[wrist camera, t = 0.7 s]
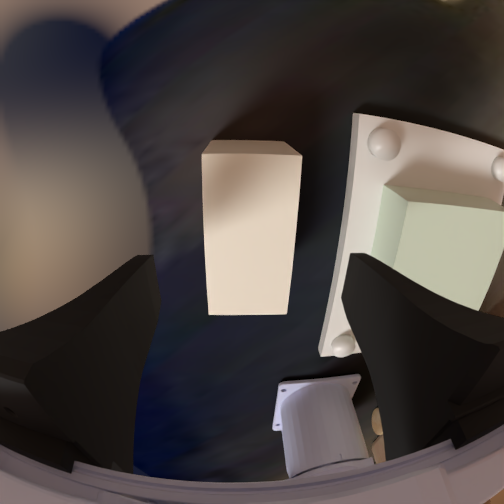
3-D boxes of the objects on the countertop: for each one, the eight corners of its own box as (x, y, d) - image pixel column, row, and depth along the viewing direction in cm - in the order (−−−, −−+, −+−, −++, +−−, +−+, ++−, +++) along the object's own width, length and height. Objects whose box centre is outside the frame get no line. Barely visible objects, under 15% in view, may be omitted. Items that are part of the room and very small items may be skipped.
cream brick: (275, 265, 20) (286, 314, 15) (214, 265, 19) (208, 314, 15) (283, 141, 16) (302, 155, 11) (211, 139, 16) (201, 153, 11)
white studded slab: (446, 330, 24) (465, 357, 21) (318, 348, 23) (328, 385, 20) (502, 149, 16) (537, 163, 12) (352, 112, 15) (384, 117, 11)
